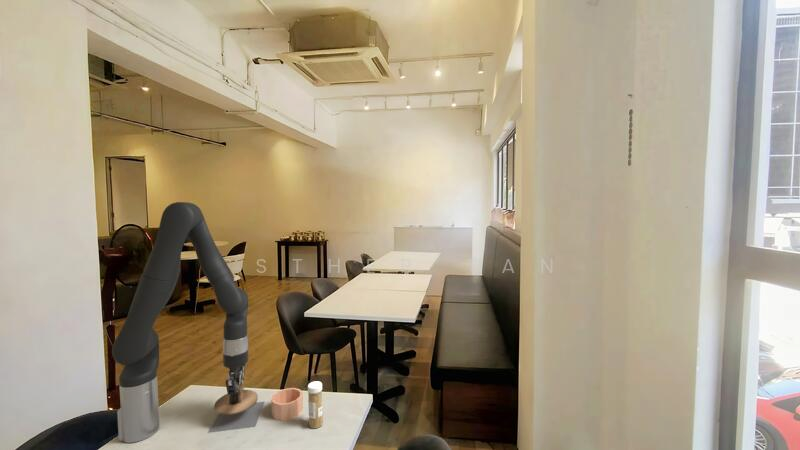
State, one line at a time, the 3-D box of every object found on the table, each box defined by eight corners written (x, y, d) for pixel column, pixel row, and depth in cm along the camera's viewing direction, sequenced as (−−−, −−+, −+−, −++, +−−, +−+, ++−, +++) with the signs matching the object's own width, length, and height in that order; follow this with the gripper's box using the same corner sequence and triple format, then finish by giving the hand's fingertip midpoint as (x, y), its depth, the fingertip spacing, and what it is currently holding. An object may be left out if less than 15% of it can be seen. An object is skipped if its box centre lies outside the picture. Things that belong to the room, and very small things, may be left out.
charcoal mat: (207, 434, 102) (207, 432, 102) (223, 407, 116) (223, 406, 116) (255, 428, 105) (255, 426, 105) (264, 403, 119) (264, 401, 119)
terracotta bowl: (269, 424, 107) (268, 406, 107) (275, 406, 117) (274, 389, 117) (301, 420, 109) (300, 402, 109) (304, 402, 119) (303, 386, 118)
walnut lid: (208, 416, 103) (207, 400, 102) (222, 393, 115) (222, 379, 115) (252, 412, 105) (252, 396, 105) (261, 390, 118) (261, 376, 118)
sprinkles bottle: (325, 425, 106) (324, 385, 105) (311, 431, 103) (310, 389, 103) (320, 418, 110) (319, 379, 109) (306, 423, 107) (305, 383, 106)
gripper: (230, 342, 116) (231, 389, 116) (215, 359, 102) (216, 413, 102) (253, 340, 117) (253, 387, 118) (241, 358, 103) (242, 411, 104)
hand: (236, 399), depth 110 cm, fingers closed on walnut lid, 3 cm apart
